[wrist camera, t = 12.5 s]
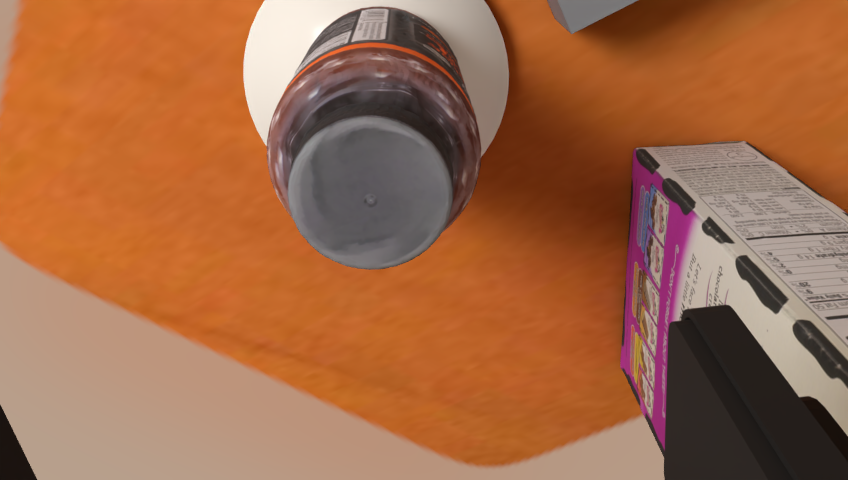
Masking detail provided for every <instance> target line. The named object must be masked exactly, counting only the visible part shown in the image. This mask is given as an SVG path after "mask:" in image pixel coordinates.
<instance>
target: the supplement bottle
mask: <svg viewBox="0 0 848 480" xmlns="http://www.w3.org/2000/svg"><path fill="white" fill-rule="evenodd" d="M267 161H268V168H269V173H270V178H271V181H272V184H273V187H274V189H275V191H276V194H277V196H278V198H279V199H280V201H281V203H282V204H283V206H284V208H285V209H286V211H287V212H288V213H289V214H290V216H291V217H292V218H293V219H294V221H295V223H296V226H297V228H298V230H299V232H300V233H301V235H302V236H303V237H304V238H305V239H306V240H307V241H308V243H309V244H310V245H311V246H312V247H313V248H315V249H316V250H317V251H318V252H319V253H321V254H322V255H324V256H325V257H327V258H330V259H331V260H333V261H335V262H338V263H340V264H343V265H345V266H349V267H355V268H360V269H385V268H389V267H394V266H398V265H400V264H403V263H406V262H408V261H410V260H412V259H414V258H415V257H417V256H419V255H420V254H422V253H423V252H424V251H426V250H427V249H428V248H429V247H430V246H431V245H432V244H433V243H434V242H435V241H436V240H437V238H438V237H439V236H440V234H441V233H442V232H443V231H444V230H446V229H447V228H448V227H449V226H450V225H451V224H452V223H453V222H454V221H455V220H456V218H457V217H458V216H459V215H460V214H461V212H462V211H463V210H464V208H465V206H466V205H467V203H468V202H469V200H470V198H471V196H472V194H473V191H474V189H475V186H476V183H477V179H478V174H479V170H480V166H481V142H480V134H479V129H478V125H477V121H476V115H475V113H474V109H473V107H472V104H471V100H470V97H469V95H468V92H467V90H466V87H465V83H464V80H463V77H462V74H461V71H460V67H459V65H458V61H457V58H456V56H455V55H454V53H453V51H452V49H451V48H450V46H449V44H448V43H447V42H446V40H445V39H444V38H443V37H442V36H441V35H440V33H439V32H438V31H437V30H436V29H435V28H434V27H433V26H431V25H430V24H429V23H428V22H426V21H425V20H424V19H422V18H420V17H418V16H416V15H414V14H412V13H410V12H408V11H406V10H402V9H398V8H393V7H382V6H379V7H368V8H360V9H357V10H354V11H351V12H349V13H347V14H345V15H343V16H341V17H339V18H338V19H337V20H335V21H333V22H332V23H331V24H330V25H329V26H327V27H326V28H325V29H324V30H323V31H322V32H321V33H320V35H319V36H318V37H317V38H316V40H315V41H314V42H313V44H312V45H311V46H310V48H309V50H308V51H307V53H306V55H305V57H304V59H303V60H302V62H301V64H300V65H299V67H298V69H297V70H296V72H295V74H294V76H293V78H292V79H291V81H290V83H289V84H288V86H287V87H286V89H285V91H284V93H283V95H282V97H281V99H280V101H279V103H278V105H277V107H276V109H275V111H274V114H273V117H272V120H271V123H270V127H269V133H268V138H267Z"/></svg>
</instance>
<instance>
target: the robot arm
mask: <svg viewBox="0 0 848 480" xmlns="http://www.w3.org/2000/svg"><path fill="white" fill-rule="evenodd" d="M664 476H665V480H848V436H847V435H846V433H845V432H844V431H843V429H842V428H841V427H840V426H839V424H838V423H837V422H836V421H835V419H834V418H833V417H832V415H831V414H830V413H829V412H828V410H827V409H826V408H825V407H824V406H823V405H822V404H821V403H820V402H819V401H818V400H817V399H815V398H813V397H810V396H805V397H799V396H798V395H797V393H796V392H795V391H794V389H793V388H792V387H791V385H790V384H789V383H788V381H787V380H786V379H785V377H784V376H783V375H782V373H781V372H780V371H779V369H778V368H777V367H776V365H775V364H774V363H773V361H772V360H771V359H770V357H769V356H768V355H767V353H766V352H765V351H764V349H763V348H762V347H761V345H760V344H759V343H758V341H757V340H756V339H755V337H754V336H753V335H752V333H751V332H750V331H749V329H748V328H747V327H746V325H745V324H744V323H743V321H742V320H741V319H740V317H739V316H738V315H737V313H736V312H735V311H734V309H733V308H732V307H731V306H730V305H718V306H709V307H700V308H691V309H685V310H684V311H683V313H682V316H681V321H672V322H671V323H670V324H669V329H668V355H667V387H666V420H665V453H664ZM0 480H37V479H36V476H35V474H34V472H33V470H32V468H31V466H30V464H29V462H28V460H27V458H26V456H25V454H24V452H23V450H22V448H21V446H20V444H19V442H18V440H17V438H16V436H15V434H14V432H13V429H12V427H11V425H10V424H9V421H8V419H7V417H6V415H5V413H4V411H3V409H2V407H1V405H0Z"/></svg>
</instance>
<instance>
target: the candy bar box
mask: <svg viewBox="0 0 848 480" xmlns="http://www.w3.org/2000/svg"><path fill="white" fill-rule="evenodd" d="M718 305H730V306H731V307H732V308H733V309H734V311H735V312H736V313H737V315H738V316H739V317H740V319H741V320H742V321H743V323H744V324H745V325H746V327H747V328H748V329H749V331H750V332H751V333H752V335H753V336H754V337H755V339H756V340H757V341H758V343H759V344H760V345H761V347H762V348H763V349H764V351H765V352H766V353H767V355H768V356H769V357H770V359H771V360H772V361H773V363H774V364H775V365H776V367H777V368H778V369H779V371H780V372H781V373H782V375H783V376H784V377H785V379H786V380H787V381H788V383H789V384H790V385H791V387H792V388H793V389H794V391H795V392H796V393H797V395H798V396H799V397H805V396H810V397H813V398H815V399H817V400H818V401H819V402H820V403H821V404H822V405H823V406H824V407H825V408H826V409H827V410H828V412H829V413H830V414H831V415H832V417H833V418H834V419H835V421H836V422H837V423H838V424H839V426H840V427H841V428H842V429H843V431H844V432H845V433H846V435H847V436H848V214H847V213H846V212H845V211H843V210H842V209H841V208H839V207H838V206H836V205H835V204H834V203H832V202H830V201H828V200H826V199H825V198H824V197H823V196H821V195H820V194H818V193H817V192H816V191H815V190H813V189H812V188H810V187H809V186H807V185H806V184H805V183H804V182H802V181H801V180H800V179H798V178H796V177H795V176H794V175H792V174H791V173H790V172H788V171H787V170H786V169H784V168H783V167H781V166H780V165H779V164H777V163H776V162H774V161H773V160H771V159H770V158H769V157H767V156H766V155H764V154H763V153H762V152H760V151H759V150H758V149H756V148H755V147H753V146H752V145H750V144H749V143H747V142H745V141H732V142H715V143H708V144H700V145H683V146H657V147H640V148H635V149H634V151H633V164H632V186H631V204H630V221H629V236H628V254H627V272H626V286H625V301H624V319H623V335H622V348H621V369H622V371H623V372H624V374H625V376H626V378H627V380H628V382H629V384H630V386H631V389H632V391H633V393H634V395H635V397H636V399H637V401H638V403H639V405H640V408H641V411H642V413H643V415H644V416H645V418H646V420H647V422H648V424H649V427H650V429H651V431H652V433H653V435H654V437H655V439H656V441H657V443H658V446H659V448H660V450H661V452H662V454H663V456H664V453H665V420H666V387H667V355H668V329H669V324H670V323H671V322H672V321H681V316H682V313H683V311H684V310H685V309H691V308H700V307H709V306H718Z"/></svg>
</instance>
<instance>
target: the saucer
mask: <svg viewBox="0 0 848 480" xmlns="http://www.w3.org/2000/svg"><path fill="white" fill-rule="evenodd" d="M379 6H382V7H393V8H398V9H402V10H406V11H408V12H410V13H412V14H414V15H416V16H418V17H420V18H422V19H424V20H425V21H426V22H428V23H429V24H430V25H431V26H433V27H434V28H435V29H436V30H437V31H438V32H439V33H440V35H441V36H442V37H443V38H444V39H445V40H446V42H447V43H448V44H449V46H450V48H451V49H452V51H453V53H454V55H455V56H456V58H457V61H458V65H459V67H460V71H461V74H462V77H463V80H464V83H465V87H466V90H467V92H468V95H469V97H470V100H471V104H472V107H473V109H474V113H475V115H476V121H477V125H478V129H479V134H480V142H481V157H482V155H483V154H484V153H485V152H486V150H487V148H488V147H489V145H490V144H491V142H492V140H493V139H494V137H495V135H496V132H497V130H498V128H499V126H500V124H501V120H502V117H503V114H504V111H505V107H506V102H507V96H508V86H509V69H508V58H507V53H506V48H505V44H504V40H503V37H502V34H501V32H500V29H499V26H498V24H497V21H496V20H495V18H494V16H493V14H492V12H491V10H490V8H489V7H488V5H487V4H486V2H485V1H484V0H265V1H264V3H263V4H262V6H261V7H260V9H259V11H258V13H257V15H256V17H255V20H254V22H253V24H252V26H251V29H250V33H249V36H248V40H247V43H246V49H245V56H244V86H245V94H246V99H247V103H248V107H249V111H250V114H251V116H252V119H253V121H254V124H255V126H256V129H257V131H258V132H259V134H260V136H261V138H262V139H263V141H264V143H265V145H266V146H267V138H268V133H269V127H270V123H271V120H272V117H273V114H274V111H275V109H276V107H277V105H278V103H279V101H280V99H281V97H282V95H283V93H284V91H285V89H286V87H287V86H288V84H289V83H290V81H291V79H292V78H293V76H294V74H295V72H296V70H297V69H298V67H299V65H300V64H301V62H302V60H303V59H304V57H305V55H306V53H307V51H308V50H309V48H310V46H311V45H312V44H313V42H314V41H315V40H316V38H317V37H318V36H319V35H320V33H321V32H322V31H323V30H324V29H325V28H326V27H327V26H329V25H330V24H331V23H332V22H333V21H335V20H337V19H338V18H339V17H341V16H343V15H345V14H347V13H349V12H351V11H354V10H357V9H360V8H368V7H379Z"/></svg>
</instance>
